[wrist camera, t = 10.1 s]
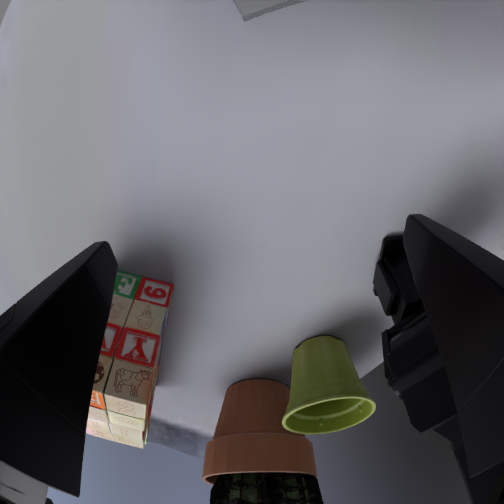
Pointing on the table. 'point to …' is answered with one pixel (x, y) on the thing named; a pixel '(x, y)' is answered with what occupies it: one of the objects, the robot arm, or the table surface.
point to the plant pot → (325, 389)
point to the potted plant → (259, 450)
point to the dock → (261, 6)
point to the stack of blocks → (129, 360)
